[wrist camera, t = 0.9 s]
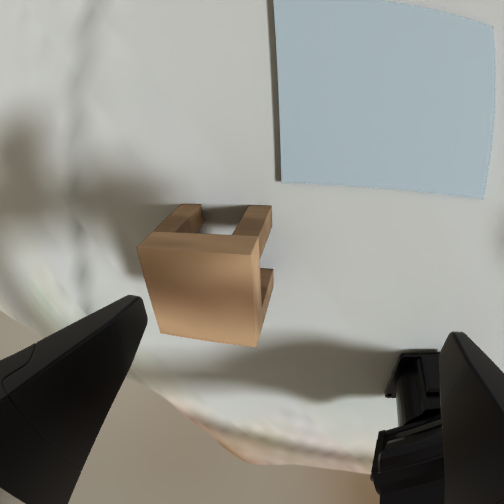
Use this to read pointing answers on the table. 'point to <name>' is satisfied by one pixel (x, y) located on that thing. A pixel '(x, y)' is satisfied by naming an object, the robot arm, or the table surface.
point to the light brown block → (209, 276)
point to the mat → (384, 96)
